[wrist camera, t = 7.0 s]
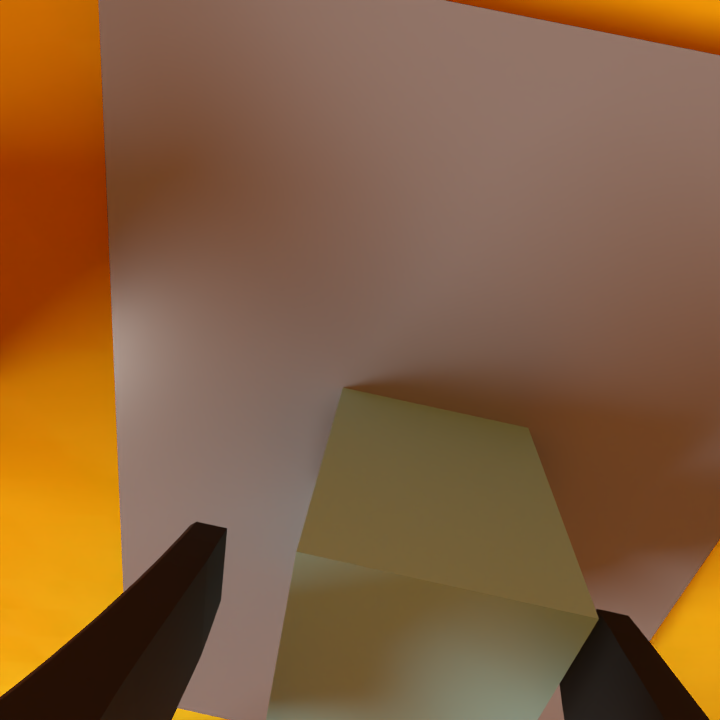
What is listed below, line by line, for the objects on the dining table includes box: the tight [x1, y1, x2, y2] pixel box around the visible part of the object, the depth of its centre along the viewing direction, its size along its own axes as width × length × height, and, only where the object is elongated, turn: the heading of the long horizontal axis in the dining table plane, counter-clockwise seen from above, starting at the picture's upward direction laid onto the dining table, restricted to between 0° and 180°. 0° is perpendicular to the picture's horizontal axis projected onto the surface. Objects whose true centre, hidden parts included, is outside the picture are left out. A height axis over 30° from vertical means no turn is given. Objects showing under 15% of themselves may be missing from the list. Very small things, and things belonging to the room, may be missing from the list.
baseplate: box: [99, 0, 720, 720], centre depth 12 cm, size 20×14×1 cm
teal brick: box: [266, 388, 599, 720], centre depth 10 cm, size 6×4×4 cm, turn 169°
